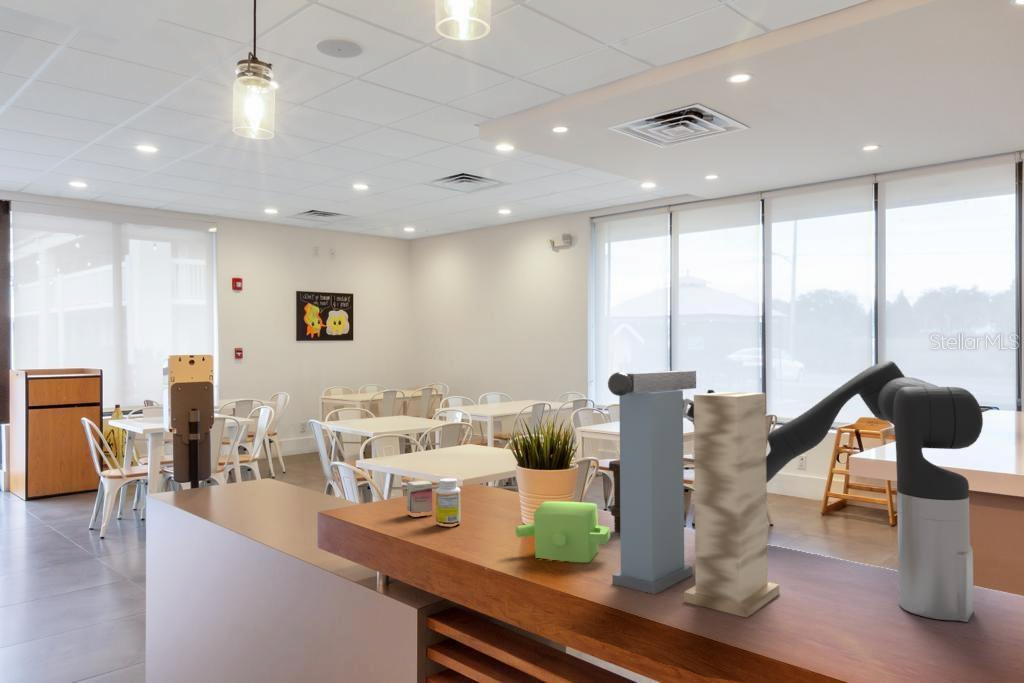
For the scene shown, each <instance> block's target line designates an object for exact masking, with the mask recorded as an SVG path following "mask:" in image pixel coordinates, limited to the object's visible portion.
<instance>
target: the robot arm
mask: <svg viewBox="0 0 1024 683" xmlns="http://www.w3.org/2000/svg"><path fill="white" fill-rule="evenodd" d="M707 393H716V391H715V390H713V389H708V390H707V391H706V394H707ZM857 395H859V396H860V398H861V400H862V401H863V402H864V404H865V405H866V407H867V408H868V409H869V411H870V412H871V413H872V414H873V416H875V417H876V418H877V419H878V420H880V421H886V422H888V423H890V424H891V425H893V427H894V429H893V430H894V438H895V439H894V440H895V456H896V458H895V459H896V462H895V463H896V465H895V466H896V490H897V491H896V492H897V493H896V494H897V495H896V496H897V498H896V499H897V500H896V502H897V504H896V505H897V569H898V570H897V572H898V573H897V575H898V577H897V578H898V579H897V580H898V588H897V589H898V590H897V593H898V605H899V606H900V608H902V609H903V610H905V611H906V612H909V613H912V614H915V615H918V616H920V617H921V616H922V617H925V618H930V619H935V620H944V621H960V622H965V623H968V622H969V620H970V618H971V616H972V615H973V612H974V611H975V610H974V609H975V608H974V604H975V603H974V601H975V600H974V556H973V555H974V554H973V552H974V551H973V546H971V544H970V543H971V540H970V538H971V537H970V536H971V535H970V534H971V533H970V485H969V480H968V479H967V477H965V476H964V475H962V474H960V473H958V472H955V471H952V470H948V469H945V468H943V467H940V466H938V465H936V464H933V463H932V462H930V461H929V460H928V459H926V458H925V457H924V454H923V449H940V450H941V449H942V450H943V449H945V450H961V449H966V448H969V447H971V446H973V444H975V442H977V441H978V439H979V438H980V435H981V433H982V429H983V424H984V419H983V413H982V409H981V408H982V407H981V406H980V404H979V401H978V400H977V398H976V397H975V396H974V395H973V394H972V393H971V392H970V391H969V390H968V389H965V388H962V387H957V386H938V385H936V384H933V383H929V382H927V381H925V380H922V379H918V378H915V377H907V376H905V375H904V373H903V371H901V369H900V368H899V366H898V365H897V364H896V362H893V361H891V360H886V361H881V362H879V363H876V364H874V365H872V366H869V367H868V368H866V369H865V370H862V371H860V373H858V374H857V375H855V376H854V377H853V378H850V380H847V381H846V382H845V383H843V384H842V385H841V386H840V387H838V388H837V389H835V390H833V391H832V392H831V393H829V394H828V395H826V397H824V398H822V399H821V401H819V402H817V403H816V404H815V405H814V406H812V407H811V408H809V409H808V410H806V411H805V412H804V413H801V414H800V415H799V416H796V417H795V418H794V419H791V420H790V421H788V422H786V423H785V424H783V425H781V426H780V427H778V428H776V429H774V430H772V431H771V432H769V433H768V435H767V441H768V442H767V443H768V445H769V448H770V449H769V450H770V451H769V453H768V454H766V483H767V484H768V483H769V482H770V481H772V479H773V478H774V477H775V476H776V475H777V474H778V473H779V472H780V471H781V470H782V469H783V468H785V466H787V465H788V464H789V463H790V462H791V461H793V459H796V458H797V457H799V456H801V455H803V454H805V453H806V452H808V451H810V450H812V449H813V448H815V447H817V446H818V445H819V444H820V443H821V442H822V441H824V439H825V438H826V436H827V435H828V433H829V432H830V429H831V428H832V426H833V424H834V423H835V420H836V419H837V417H838V415H839V413H840V411H841V410H842V408H843V407H844V406H845V405H846V404H847V403H848V402H849V401H850V400H851V399H852V398H854V397H855V396H857ZM688 405H689V406H688ZM688 407H689V409H688ZM687 409H688V410H687ZM683 419H687V420H688V421H690V422H691V423H692V424H693V426H694V400H691V399H689V398H683Z"/></svg>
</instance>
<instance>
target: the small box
mask: <svg viewBox="0 0 1024 683" xmlns="http://www.w3.org/2000/svg"><path fill="white" fill-rule="evenodd" d="M407 510H408V511H410V512H411V513H421V512H430V511H432V512H433V482H430V481H428V480H419V481H418V480H416V481H409V482H408V481H407V483H406V511H407Z"/></svg>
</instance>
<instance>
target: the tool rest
mask: <svg viewBox="0 0 1024 683" xmlns="http://www.w3.org/2000/svg"><path fill="white" fill-rule="evenodd" d="M766 397H767V396H766V392H740V391H739V392H738V391H737V392H736V391H720V392H715V393H707V392H706V393H700V394H699V393H698V394H694V395H693V401H694V425H693V442H694V444H693V445H694V446H693V447H694V449H693V450H694V452H693V454H694V455H693V457H694V464H693V465H694V466H693V467H694V468H693V471H694V531H695V532H694V544H695V545H694V549H695V550H694V551H695V552H694V554H695V555H694V557H695V558H694V559H695V561H694V563H695V566H694V567H695V568H694V569H695V573H694V574H695V577H694V579H695V585H693V586H692V587H690V588H688V589H686V590H685V591H684V592H683V602H684V603H688V604H691V605H696V606H700V607H704V608H707V609H711V610H715V611H720V612H723V613H728V614H731V615H735V616H739V617H743V618H748V617H750V616H752V615H753V614H754V613H756V612H757V611H758V610H760V608H762V607H764V606H765V605H766V604H768V603H769V602H771V601H772V600H774V599H775V598H776V597H777V596H779V595H780V584H779V583H774V582H770V581H768V580H769V579H768V573H769V572H768V510H767V509H768V506H767V505H768V502H767V501H768V500H767V499H768V498H767V494H768V492H767V491H768V490H767V489H768V488H767V486H768V485H767V484H768V483H766V456H767V415H766V414H767V412H766V411H767V408H766V406H767V405H766Z"/></svg>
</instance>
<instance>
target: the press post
mask: <svg viewBox="0 0 1024 683" xmlns="http://www.w3.org/2000/svg"><path fill="white" fill-rule="evenodd" d="M618 398H619V400H618V401H619V407H618V408H619V460H620V532H619V533H620V534H619V535H620V570H619V571H618V572H615V573H613V574H612V580H611V581H612V583H614V584H613V585H616V584H618V585H617V586H620V585H622V586H621V587H624V586H625V587H624V588H628V587H629V588H628V589H632V588H633V589H632V590H635V589H637V590H636V591H639V590H641V592H643V591H644V593H647V592H648V594H651V593H652V595H657V594H658V593H661V592H663V591H664V590H666V589H667V588H669V587H671V586H674V585H675V584H678V583H680V582H681V581H683V580H685V579H687V578H690V577H691V576H693V565H689V564H686V563H685V497H684V496H685V492H684V491H685V490H684V488H685V482H684V480H685V478H684V475H685V474H684V473H685V472H684V468H685V467H684V466H685V465H684V418H683V399H684V389H683V390H671V391H660V392H649V393H638V394H626V395H623V396H618Z"/></svg>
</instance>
